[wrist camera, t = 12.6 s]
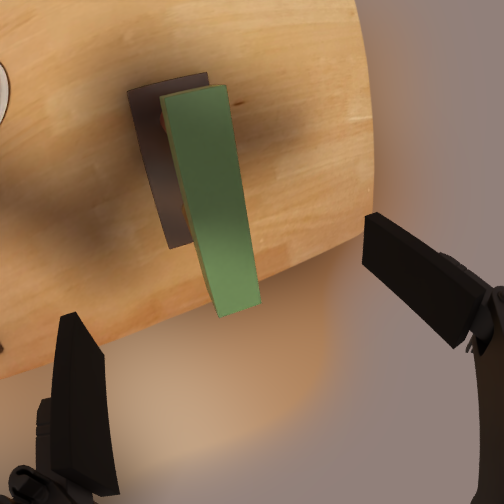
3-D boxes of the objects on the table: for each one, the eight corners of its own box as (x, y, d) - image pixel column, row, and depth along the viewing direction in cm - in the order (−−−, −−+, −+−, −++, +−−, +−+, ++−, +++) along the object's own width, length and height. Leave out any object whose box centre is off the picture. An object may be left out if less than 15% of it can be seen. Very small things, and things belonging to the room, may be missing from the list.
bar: (159, 96, 18) (163, 97, 15) (210, 85, 19) (226, 84, 15) (206, 288, 27) (218, 318, 23) (244, 276, 27) (261, 303, 24)
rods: (127, 91, 26) (121, 90, 17) (204, 72, 28) (238, 65, 19) (168, 244, 36) (184, 304, 27) (232, 224, 37) (269, 275, 28)
